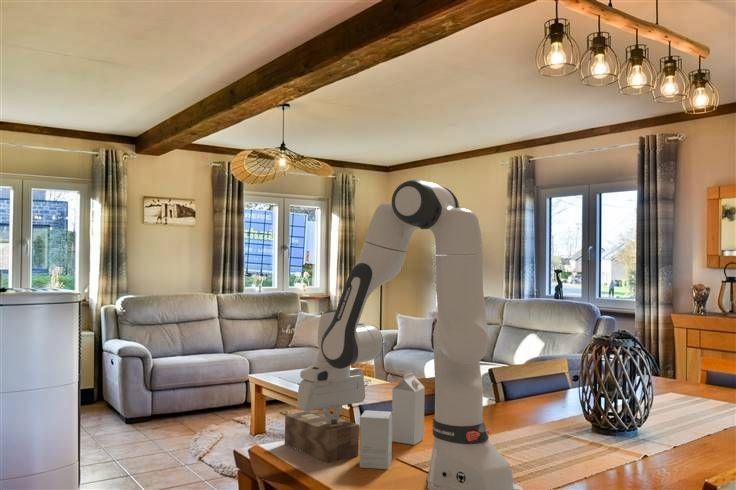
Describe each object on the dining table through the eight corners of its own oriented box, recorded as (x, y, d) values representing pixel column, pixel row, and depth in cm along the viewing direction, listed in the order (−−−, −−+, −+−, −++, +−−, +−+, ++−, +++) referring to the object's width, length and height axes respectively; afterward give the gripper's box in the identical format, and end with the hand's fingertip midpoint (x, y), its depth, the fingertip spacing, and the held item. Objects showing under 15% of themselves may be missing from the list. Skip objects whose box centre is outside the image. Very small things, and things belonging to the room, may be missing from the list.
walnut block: (358, 455, 161) (359, 424, 161) (327, 462, 155) (328, 430, 155) (314, 438, 176) (314, 409, 176) (284, 444, 170) (285, 415, 170)
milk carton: (391, 441, 174) (392, 374, 175) (401, 435, 180) (402, 370, 181) (414, 445, 171) (415, 377, 171) (424, 439, 177) (425, 373, 178)
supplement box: (392, 460, 157) (393, 411, 158) (387, 470, 150) (388, 418, 150) (363, 458, 159) (364, 409, 159) (358, 467, 151) (359, 416, 152)
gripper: (356, 365, 171) (354, 415, 171) (294, 372, 158) (293, 426, 158) (370, 368, 167) (369, 419, 166) (309, 376, 153) (307, 431, 153)
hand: (332, 423), depth 162 cm, fingers closed
